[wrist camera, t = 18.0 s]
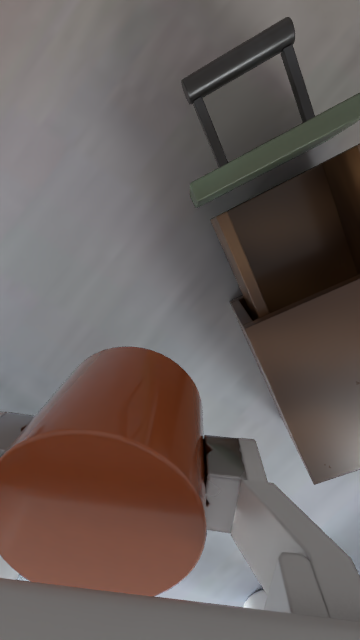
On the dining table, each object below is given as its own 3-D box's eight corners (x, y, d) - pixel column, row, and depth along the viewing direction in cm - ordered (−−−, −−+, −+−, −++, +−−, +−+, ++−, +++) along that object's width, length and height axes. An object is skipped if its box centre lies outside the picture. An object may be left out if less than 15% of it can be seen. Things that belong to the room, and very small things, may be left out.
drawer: (156, 120, 23) (144, 82, 17) (298, 38, 21) (341, -38, 15) (251, 334, 28) (268, 363, 22) (373, 282, 26) (428, 298, 20)
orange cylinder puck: (37, 414, 11) (-61, 531, 7) (118, 315, 10) (59, 383, 5) (143, 488, 12) (115, 633, 7) (231, 406, 10) (257, 526, 6)
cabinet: (229, 301, 28) (244, 329, 20) (362, 240, 26) (436, 245, 18) (283, 422, 31) (314, 485, 24) (404, 377, 29) (480, 429, 22)
